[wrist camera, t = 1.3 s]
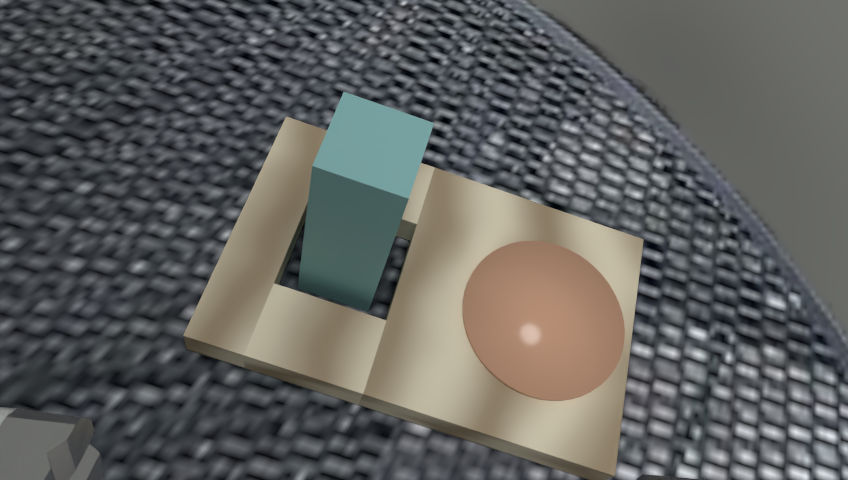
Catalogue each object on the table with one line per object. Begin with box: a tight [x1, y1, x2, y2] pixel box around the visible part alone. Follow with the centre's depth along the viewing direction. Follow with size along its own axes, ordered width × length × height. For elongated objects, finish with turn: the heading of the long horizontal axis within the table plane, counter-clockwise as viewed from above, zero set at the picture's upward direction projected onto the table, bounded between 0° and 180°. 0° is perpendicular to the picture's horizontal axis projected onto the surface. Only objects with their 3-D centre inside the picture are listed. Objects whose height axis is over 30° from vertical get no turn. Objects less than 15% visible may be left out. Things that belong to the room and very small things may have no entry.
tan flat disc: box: [462, 241, 625, 401], centre depth 38 cm, size 9×9×1 cm
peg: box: [298, 92, 434, 312], centre depth 34 cm, size 4×4×12 cm
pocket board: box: [183, 117, 643, 480], centre depth 39 cm, size 22×14×2 cm, turn 74°
